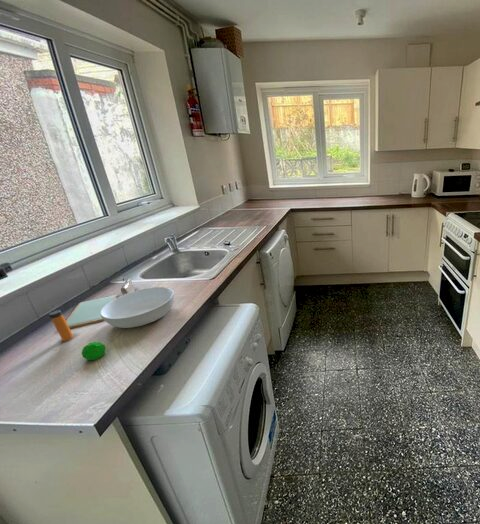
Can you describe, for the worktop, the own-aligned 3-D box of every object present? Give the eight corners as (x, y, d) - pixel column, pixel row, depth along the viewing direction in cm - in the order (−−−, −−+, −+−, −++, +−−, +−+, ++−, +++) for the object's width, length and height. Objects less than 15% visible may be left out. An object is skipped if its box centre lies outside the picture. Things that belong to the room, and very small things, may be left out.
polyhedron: (95, 364, 79) (88, 350, 77) (81, 363, 79) (73, 349, 78) (112, 352, 83) (106, 339, 81) (98, 351, 84) (92, 337, 82)
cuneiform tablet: (123, 277, 119) (115, 289, 109) (133, 275, 121) (126, 286, 111) (128, 290, 122) (121, 302, 112) (139, 287, 123) (132, 299, 113)
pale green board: (60, 332, 94) (59, 328, 94) (81, 305, 111) (79, 302, 111) (105, 321, 99) (104, 318, 99) (118, 297, 116) (117, 294, 115)
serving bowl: (90, 337, 91) (82, 319, 88) (138, 303, 110) (131, 287, 107) (154, 335, 90) (147, 317, 87) (190, 301, 109) (185, 285, 106)
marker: (61, 343, 89) (46, 315, 85) (65, 338, 91) (50, 311, 87) (72, 340, 90) (58, 313, 86) (75, 336, 92) (62, 309, 88)
